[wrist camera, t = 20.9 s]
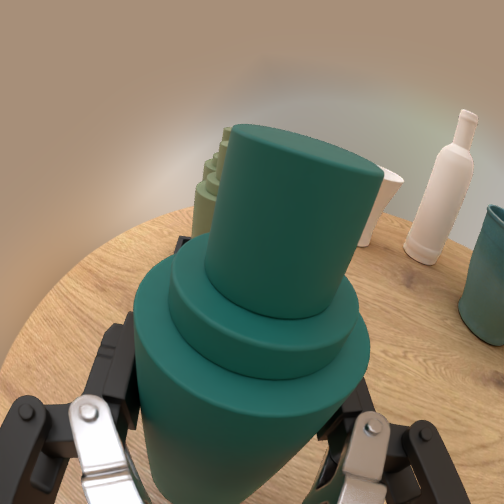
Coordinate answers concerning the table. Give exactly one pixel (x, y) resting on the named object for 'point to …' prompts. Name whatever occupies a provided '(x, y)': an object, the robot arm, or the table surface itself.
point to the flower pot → (486, 281)
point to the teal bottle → (254, 318)
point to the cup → (380, 203)
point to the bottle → (443, 194)
